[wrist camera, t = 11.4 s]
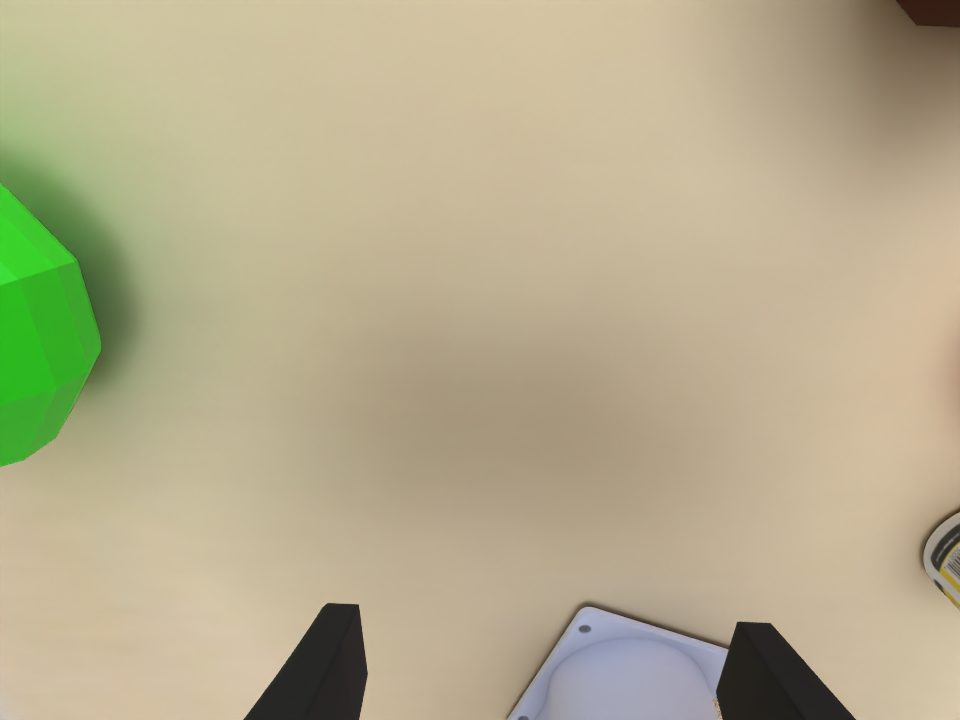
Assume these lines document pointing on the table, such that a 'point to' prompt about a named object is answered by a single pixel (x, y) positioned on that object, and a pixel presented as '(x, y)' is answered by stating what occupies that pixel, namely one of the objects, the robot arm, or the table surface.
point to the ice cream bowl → (933, 12)
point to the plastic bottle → (39, 332)
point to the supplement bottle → (945, 558)
